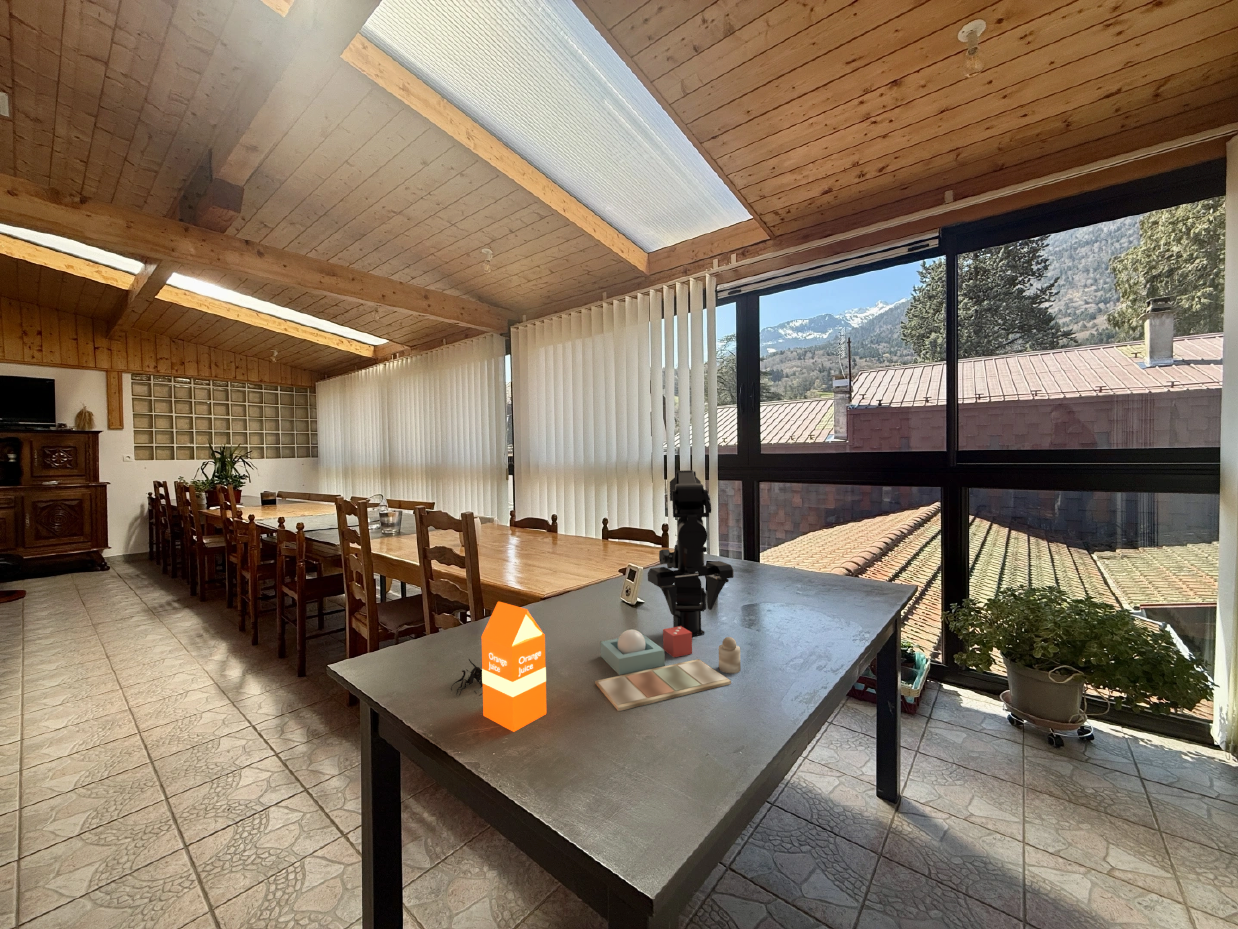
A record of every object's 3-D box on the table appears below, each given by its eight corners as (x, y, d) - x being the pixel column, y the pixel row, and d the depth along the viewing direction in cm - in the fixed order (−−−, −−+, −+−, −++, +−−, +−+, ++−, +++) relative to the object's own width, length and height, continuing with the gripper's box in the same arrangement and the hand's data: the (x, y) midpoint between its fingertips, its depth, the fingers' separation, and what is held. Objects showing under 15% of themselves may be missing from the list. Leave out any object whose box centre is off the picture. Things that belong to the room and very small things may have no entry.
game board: (699, 661, 110) (698, 658, 110) (731, 683, 99) (731, 680, 99) (595, 683, 100) (595, 680, 100) (618, 711, 89) (618, 707, 89)
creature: (475, 706, 94) (499, 680, 101) (471, 682, 93) (495, 657, 100) (443, 699, 97) (469, 674, 104) (438, 676, 96) (464, 652, 103)
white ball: (638, 650, 115) (637, 624, 115) (650, 661, 109) (650, 632, 109) (613, 655, 112) (612, 628, 112) (624, 666, 107) (624, 637, 106)
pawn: (732, 663, 109) (731, 632, 109) (745, 671, 105) (744, 639, 104) (714, 666, 107) (714, 635, 107) (727, 675, 103) (726, 642, 103)
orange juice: (516, 699, 94) (514, 596, 94) (547, 713, 89) (545, 604, 88) (482, 716, 88) (479, 606, 88) (513, 732, 82) (510, 615, 82)
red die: (681, 646, 119) (680, 625, 119) (692, 653, 114) (691, 632, 114) (663, 649, 117) (662, 628, 117) (673, 657, 112) (673, 635, 112)
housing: (642, 648, 118) (642, 634, 118) (664, 665, 108) (664, 650, 108) (600, 656, 114) (600, 641, 114) (619, 675, 104) (618, 659, 103)
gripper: (708, 533, 118) (709, 597, 118) (637, 539, 111) (638, 607, 112) (734, 540, 107) (735, 610, 108) (657, 547, 101) (659, 622, 101)
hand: (691, 612), depth 107 cm, fingers open, 9 cm apart
